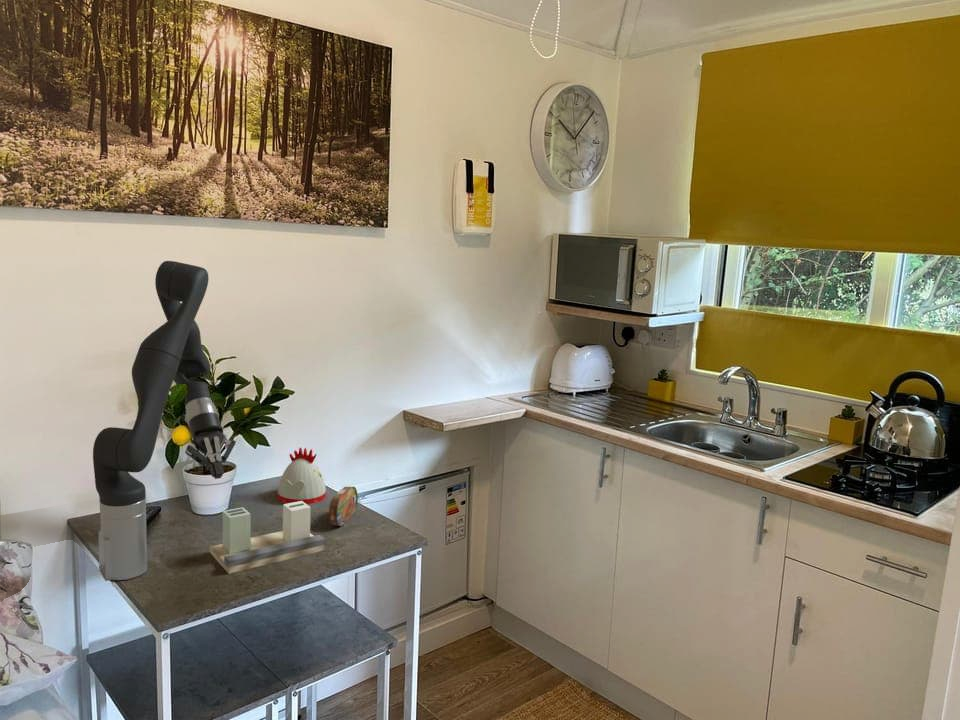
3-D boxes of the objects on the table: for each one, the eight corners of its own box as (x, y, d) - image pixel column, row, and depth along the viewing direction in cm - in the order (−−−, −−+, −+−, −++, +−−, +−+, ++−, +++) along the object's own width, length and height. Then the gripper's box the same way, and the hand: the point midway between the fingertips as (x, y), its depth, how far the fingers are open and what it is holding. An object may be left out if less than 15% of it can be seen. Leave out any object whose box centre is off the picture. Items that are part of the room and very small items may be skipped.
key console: (228, 573, 166) (228, 561, 166) (209, 552, 176) (209, 540, 176) (324, 550, 181) (325, 538, 181) (302, 531, 191) (302, 521, 190)
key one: (291, 545, 179) (291, 510, 177) (282, 538, 182) (283, 503, 181) (309, 541, 182) (310, 506, 180) (301, 534, 186) (301, 500, 184)
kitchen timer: (315, 507, 208) (316, 457, 206) (269, 501, 210) (270, 452, 208) (332, 491, 222) (333, 443, 219) (289, 486, 224) (290, 439, 221)
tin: (337, 531, 193) (338, 501, 192) (326, 529, 194) (327, 499, 192) (358, 510, 208) (359, 482, 206) (347, 509, 208) (348, 481, 207)
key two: (229, 553, 172) (229, 517, 171) (222, 546, 176) (222, 510, 175) (250, 549, 175) (250, 513, 174) (242, 541, 179) (243, 506, 178)
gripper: (180, 413, 184) (195, 474, 177) (232, 408, 192) (248, 466, 185) (174, 429, 189) (188, 488, 182) (225, 423, 197) (241, 480, 190)
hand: (218, 477), depth 183 cm, fingers closed
